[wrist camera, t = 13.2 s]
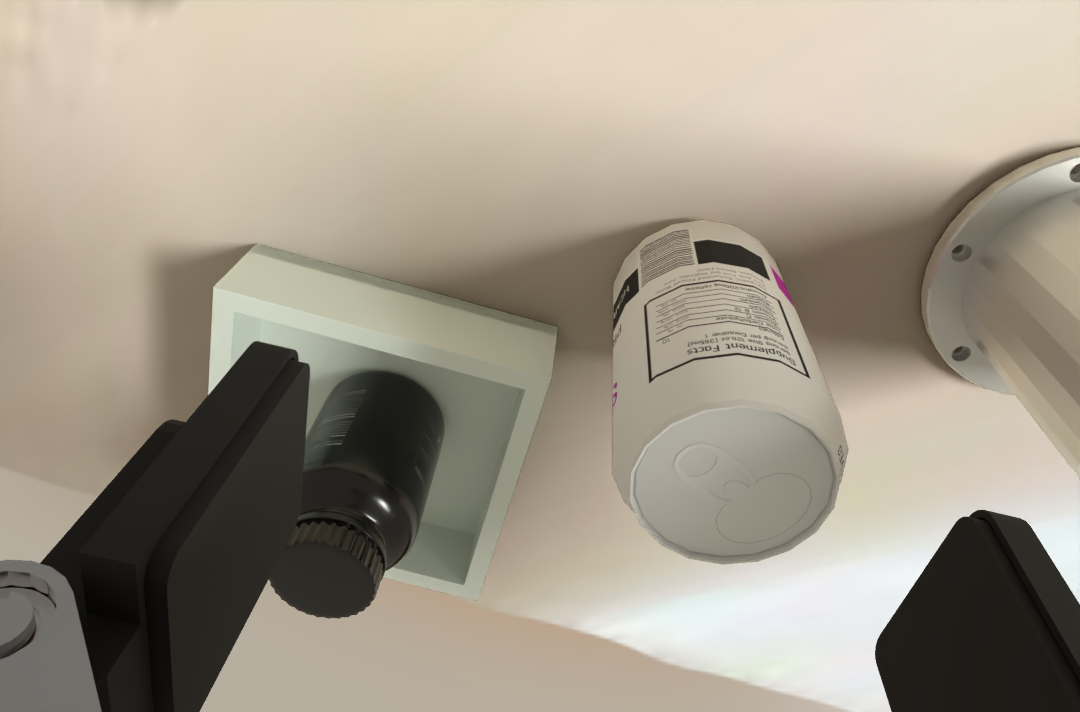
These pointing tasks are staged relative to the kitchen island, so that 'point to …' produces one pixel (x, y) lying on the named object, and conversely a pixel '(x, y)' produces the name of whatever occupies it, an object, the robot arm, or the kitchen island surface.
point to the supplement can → (718, 399)
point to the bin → (421, 355)
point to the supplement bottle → (360, 492)
